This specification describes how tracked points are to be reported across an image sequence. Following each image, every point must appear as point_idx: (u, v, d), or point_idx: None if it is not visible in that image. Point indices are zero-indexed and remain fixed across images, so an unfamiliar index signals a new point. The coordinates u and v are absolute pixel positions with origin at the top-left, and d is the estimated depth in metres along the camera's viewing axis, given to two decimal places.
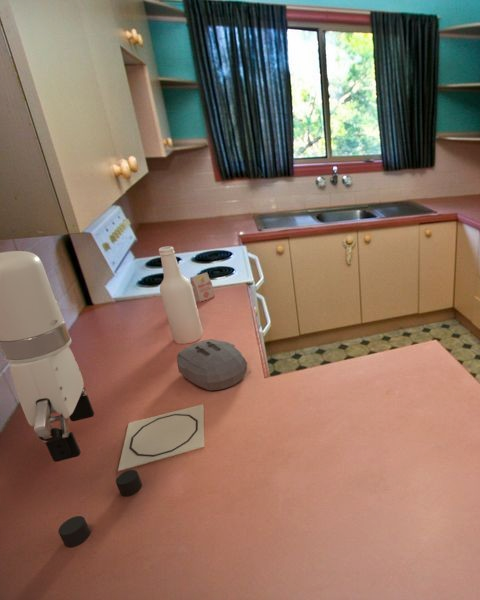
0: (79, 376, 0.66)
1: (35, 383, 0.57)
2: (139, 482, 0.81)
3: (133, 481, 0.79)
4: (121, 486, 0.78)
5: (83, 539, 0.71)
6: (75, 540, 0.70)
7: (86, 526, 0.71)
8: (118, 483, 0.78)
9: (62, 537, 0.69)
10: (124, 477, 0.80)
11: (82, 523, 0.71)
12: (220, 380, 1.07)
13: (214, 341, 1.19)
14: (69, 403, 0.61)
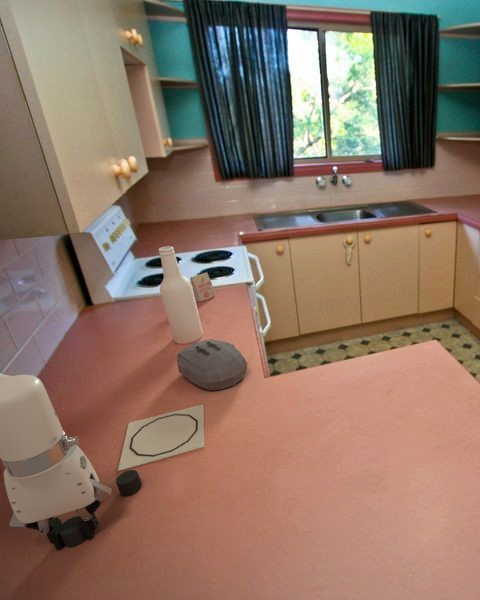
0: (76, 498, 0.67)
1: None
2: (139, 482, 0.81)
3: (133, 481, 0.79)
4: (121, 486, 0.78)
5: (83, 539, 0.71)
6: (75, 540, 0.70)
7: None
8: (118, 483, 0.78)
9: (62, 537, 0.69)
10: (124, 477, 0.80)
11: None
12: (220, 380, 1.07)
13: (214, 341, 1.19)
14: (26, 515, 0.65)
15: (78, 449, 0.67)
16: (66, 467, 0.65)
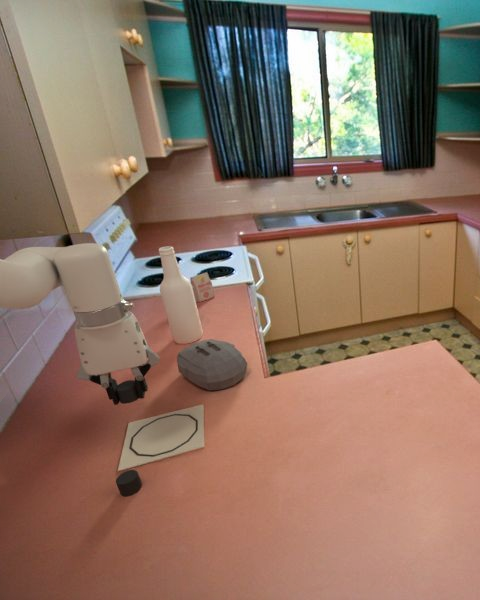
0: (132, 355, 0.79)
1: None
2: (139, 482, 0.81)
3: (133, 481, 0.79)
4: (121, 486, 0.78)
5: (136, 398, 0.82)
6: (129, 397, 0.81)
7: None
8: (118, 483, 0.78)
9: (119, 393, 0.81)
10: (124, 477, 0.80)
11: None
12: (220, 380, 1.07)
13: (214, 341, 1.19)
14: (92, 367, 0.77)
15: (133, 315, 0.79)
16: (125, 326, 0.76)
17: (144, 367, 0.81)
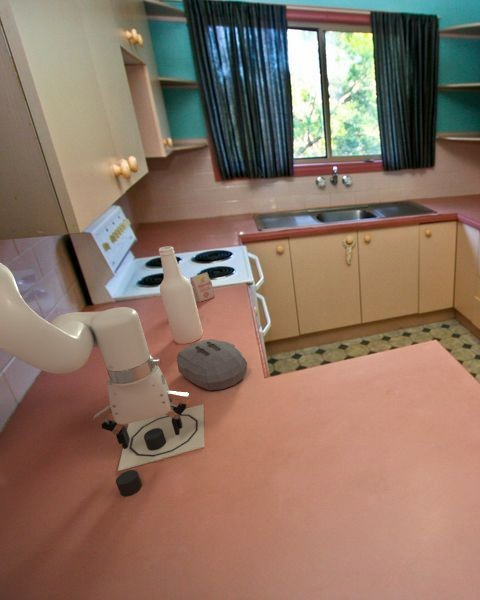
0: (158, 406, 0.86)
1: None
2: (139, 482, 0.81)
3: (133, 481, 0.79)
4: (121, 486, 0.78)
5: (162, 445, 0.90)
6: (156, 445, 0.89)
7: (163, 435, 0.91)
8: (118, 483, 0.78)
9: (147, 441, 0.89)
10: (124, 477, 0.80)
11: (161, 432, 0.90)
12: (220, 380, 1.07)
13: (214, 341, 1.19)
14: (121, 417, 0.84)
15: (159, 369, 0.87)
16: (152, 380, 0.84)
17: (181, 407, 0.90)
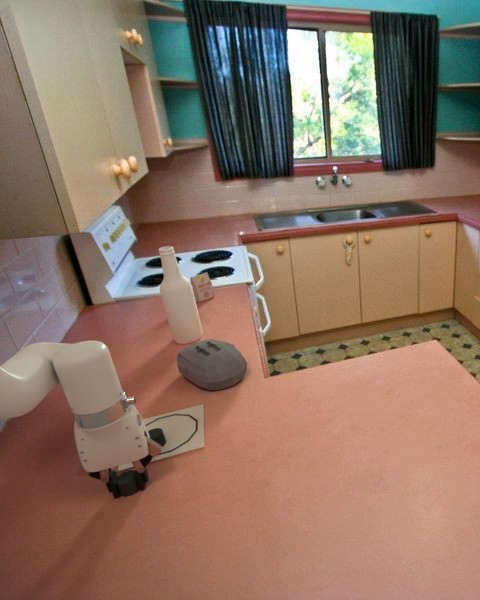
0: (133, 450, 0.76)
1: None
2: None
3: (133, 481, 0.79)
4: (121, 486, 0.78)
5: (162, 445, 0.90)
6: None
7: (163, 435, 0.91)
8: (118, 483, 0.78)
9: None
10: (125, 477, 0.80)
11: (161, 432, 0.90)
12: (220, 380, 1.07)
13: (214, 341, 1.19)
14: (91, 465, 0.74)
15: (135, 408, 0.77)
16: (126, 422, 0.74)
17: (145, 459, 0.79)
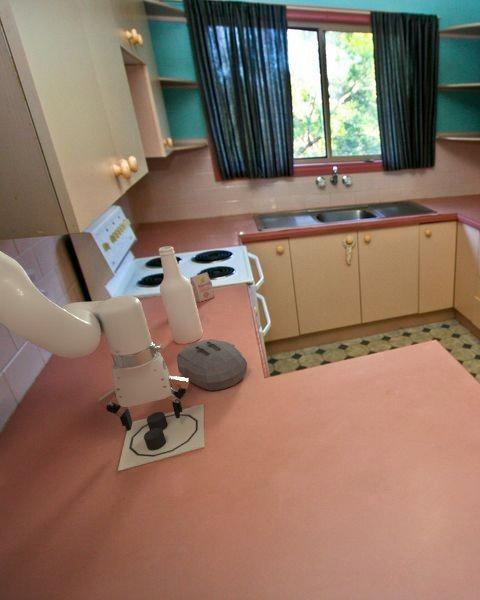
0: (159, 390, 0.91)
1: None
2: (165, 422, 0.96)
3: (161, 420, 0.95)
4: (151, 424, 0.94)
5: (162, 445, 0.90)
6: (156, 445, 0.89)
7: (163, 435, 0.91)
8: (149, 421, 0.94)
9: (147, 441, 0.89)
10: (154, 417, 0.95)
11: (161, 432, 0.90)
12: (220, 380, 1.07)
13: (214, 341, 1.19)
14: (125, 400, 0.89)
15: None
16: (154, 365, 0.89)
17: (181, 391, 0.95)
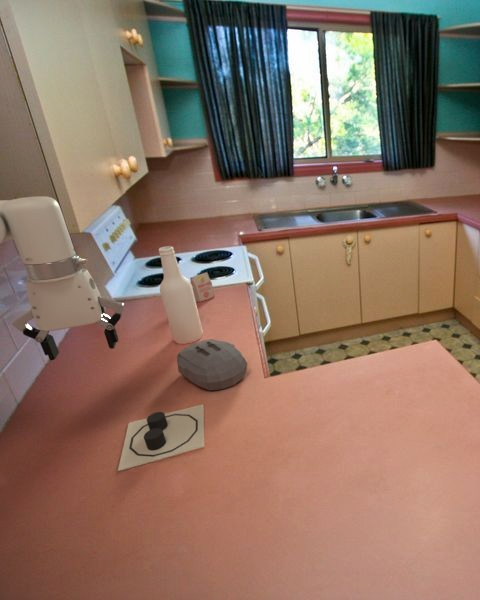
0: (86, 312, 0.79)
1: None
2: (165, 422, 0.96)
3: (161, 420, 0.95)
4: (151, 424, 0.94)
5: (162, 445, 0.90)
6: (156, 445, 0.89)
7: (163, 435, 0.91)
8: (149, 421, 0.94)
9: (147, 441, 0.89)
10: (154, 417, 0.95)
11: (161, 432, 0.90)
12: (220, 380, 1.07)
13: (214, 341, 1.19)
14: (44, 322, 0.76)
15: (88, 272, 0.79)
16: (78, 281, 0.76)
17: (114, 316, 0.82)
